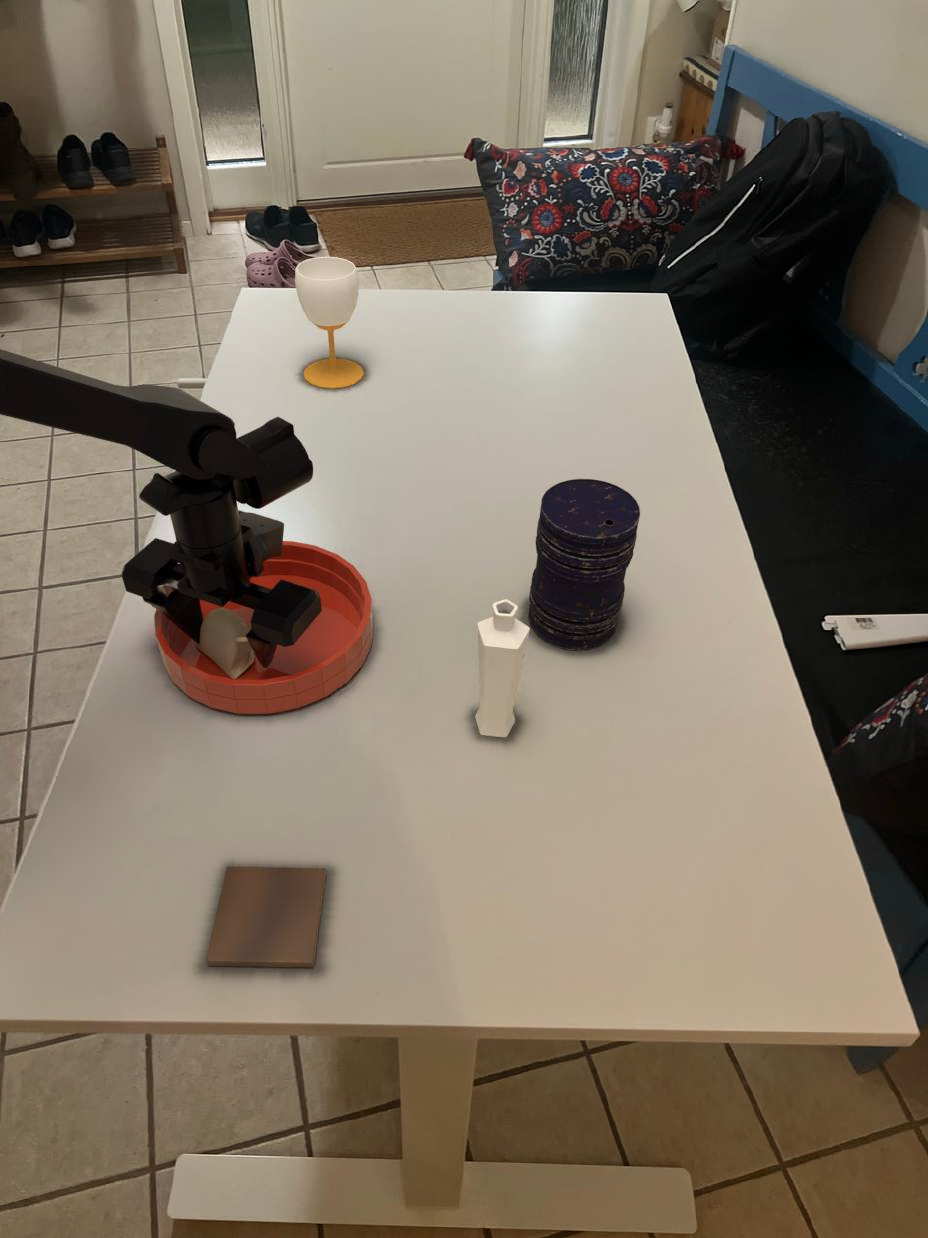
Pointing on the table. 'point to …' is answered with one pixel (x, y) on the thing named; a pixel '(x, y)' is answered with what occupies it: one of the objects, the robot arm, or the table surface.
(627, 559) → the dark oil barrel
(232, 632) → the decorative ornament
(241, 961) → the coaster
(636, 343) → the table surface
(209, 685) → the bowl
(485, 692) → the perfume bottle
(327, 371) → the cup
